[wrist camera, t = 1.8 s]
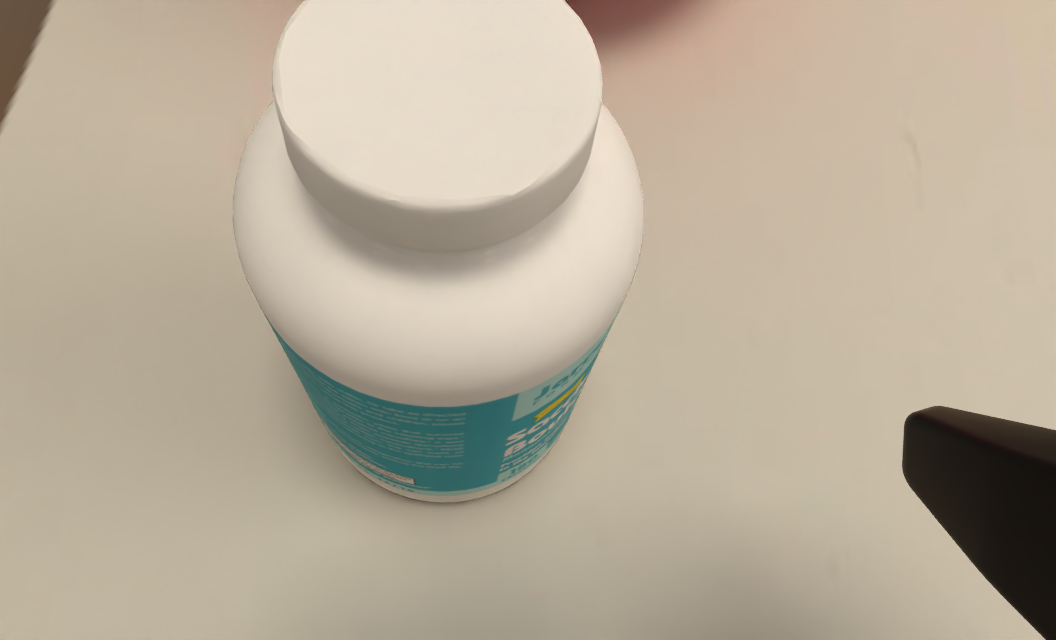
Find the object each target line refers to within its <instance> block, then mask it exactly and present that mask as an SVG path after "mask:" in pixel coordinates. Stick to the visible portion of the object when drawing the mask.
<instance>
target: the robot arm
mask: <svg viewBox="0 0 1056 640" xmlns="http://www.w3.org/2000/svg"><path fill="white" fill-rule="evenodd" d="M902 469H903V474H904V476H905V479H906V481H907V483H908V484H909V486H910V487H911V489H912V490H913V491H914V492H915V494H916V495H917V496H918V497H919V498H920V500H921V501H922V502H923V503H924V504H925V506H926V507H927V508H928V509H929V511H930V512H931V513H932V514H933V515H934V517H935V518H936V519H937V520H938V522H939V523H940V524H941V525H942V526H943V528H944V529H945V530H946V531H947V532H948V534H949V535H950V536H951V537H952V539H953V540H954V541H955V542H956V543H957V545H958V546H959V547H960V548H961V550H962V551H963V552H964V553H965V554H966V556H967V557H968V558H969V559H970V560H971V562H972V563H973V564H974V565H975V566H976V568H977V569H978V570H979V571H980V572H981V573H982V574H983V576H984V577H985V578H986V579H987V580H988V581H989V582H990V583H991V584H992V585H993V587H994V588H995V589H996V590H997V591H998V592H999V593H1000V594H1001V595H1002V596H1003V597H1004V598H1005V599H1006V600H1007V601H1008V602H1009V603H1010V604H1011V605H1012V606H1013V607H1014V608H1015V609H1016V610H1017V611H1018V612H1019V613H1020V614H1021V615H1022V616H1023V617H1024V618H1025V619H1026V620H1027V621H1028V622H1029V623H1030V624H1031V625H1032V626H1033V627H1034V628H1035V629H1036V630H1037V631H1038V632H1039V633H1040V634H1041V635H1042V636H1043V637H1044V638H1045V639H1046V640H1056V430H1052V429H1047V428H1043V427H1038V426H1033V425H1028V424H1024V423H1019V422H1014V421H1010V420H1005V419H1000V418H996V417H991V416H986V415H981V414H977V413H972V412H967V411H963V410H958V409H953V408H948V407H944V406H933V407H930V408H926V409H923V410H920V411H917V412H914V413H912V414H910V415H909V416H908V417H907V419H906V421H905V424H904V440H903V460H902Z"/></svg>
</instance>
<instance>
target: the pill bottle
mask: <svg viewBox="0 0 1056 640" xmlns="http://www.w3.org/2000/svg"><path fill="white" fill-rule="evenodd" d="M272 90H273V96H274V100H273V102H272V103H271V104H270V105H269V107H268V108H267V109H266V111H265V112H264V114H263V115H262V117H261V118H260V120H259V121H258V123H257V125H256V126H255V128H254V130H253V132H252V134H251V136H250V138H249V140H248V142H247V144H246V147H245V150H244V152H243V155H242V158H241V161H240V165H239V169H238V173H237V177H236V183H235V190H234V196H233V225H234V234H235V240H236V245H237V249H238V254H239V258H240V261H241V264H242V267H243V270H244V272H245V275H246V278H247V281H248V283H249V285H250V287H251V289H252V291H253V293H254V295H255V297H256V299H257V301H258V303H259V305H260V307H261V309H262V311H263V313H264V314H265V316H266V318H267V320H268V321H269V323H270V325H271V327H272V329H273V331H274V332H275V334H276V336H277V338H278V340H279V342H280V343H281V345H282V347H283V349H284V351H285V353H286V355H287V356H288V358H289V360H290V362H291V364H292V366H293V367H294V369H295V371H296V373H297V375H298V377H299V379H300V380H301V382H302V384H303V386H304V388H305V390H306V392H307V394H308V396H309V397H310V399H311V401H312V403H313V406H314V408H315V409H316V411H317V413H318V415H319V417H320V418H321V420H322V422H323V424H324V426H325V428H326V429H327V431H328V433H329V435H330V437H331V438H332V440H333V442H334V443H335V445H336V446H337V447H338V449H339V450H340V452H341V453H342V454H343V455H344V457H345V458H346V459H347V460H348V461H349V462H350V463H351V464H352V465H353V466H354V467H355V468H356V469H357V470H358V471H359V472H361V473H362V474H363V475H365V476H366V477H367V478H369V479H370V480H371V481H373V482H375V483H376V484H378V485H379V486H381V487H383V488H385V489H387V490H389V491H391V492H394V493H397V494H399V495H402V496H405V497H409V498H412V499H416V500H423V501H429V502H460V501H466V500H471V499H476V498H479V497H483V496H487V495H489V494H492V493H495V492H497V491H499V490H501V489H503V488H505V487H507V486H509V485H511V484H513V483H514V482H516V481H517V480H519V479H520V478H522V477H523V476H525V475H526V474H527V473H529V472H530V471H531V470H532V469H533V468H534V467H535V466H537V465H538V464H539V463H540V462H541V460H542V459H543V458H544V457H545V456H546V455H547V454H548V453H549V451H550V450H551V449H552V447H553V446H554V444H555V443H556V441H557V440H558V438H559V436H560V435H561V433H562V431H563V429H564V427H565V425H566V423H567V421H568V419H569V416H570V414H571V412H572V410H573V408H574V405H575V403H576V401H577V399H578V397H579V395H580V393H581V390H582V388H583V386H584V384H585V382H586V380H587V377H588V375H589V373H590V371H591V369H592V366H593V364H594V362H595V360H596V358H597V356H598V354H599V351H600V349H601V347H602V345H603V343H604V341H605V339H606V337H607V334H608V332H609V330H610V328H611V326H612V324H613V322H614V320H615V318H616V316H617V314H618V313H619V311H620V308H621V306H622V304H623V302H624V299H625V297H626V294H627V292H628V290H629V287H630V285H631V283H632V280H633V277H634V274H635V271H636V268H637V265H638V261H639V256H640V251H641V247H642V240H643V228H644V202H643V192H642V185H641V181H640V177H639V173H638V168H637V165H636V163H635V160H634V157H633V154H632V151H631V149H630V147H629V144H628V142H627V140H626V138H625V136H624V134H623V132H622V131H621V129H620V127H619V125H618V123H617V122H616V120H615V119H614V117H613V116H612V114H611V113H610V112H609V110H608V109H607V108H606V106H605V105H604V104H603V103H602V92H603V82H602V71H601V66H600V61H599V57H598V54H597V51H596V48H595V45H594V42H593V40H592V38H591V36H590V34H589V32H588V30H587V29H586V27H585V25H584V24H583V22H582V21H581V19H580V17H579V16H578V15H577V14H576V13H575V12H574V11H573V10H572V8H571V7H570V6H569V5H568V4H567V2H566V1H565V0H304V1H303V2H302V3H301V4H300V6H299V7H298V8H297V9H296V11H295V12H294V13H293V14H292V16H291V17H290V19H289V20H288V22H287V24H286V26H285V28H284V30H283V32H282V35H281V37H280V39H279V42H278V44H277V48H276V52H275V56H274V60H273V70H272Z"/></svg>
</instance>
